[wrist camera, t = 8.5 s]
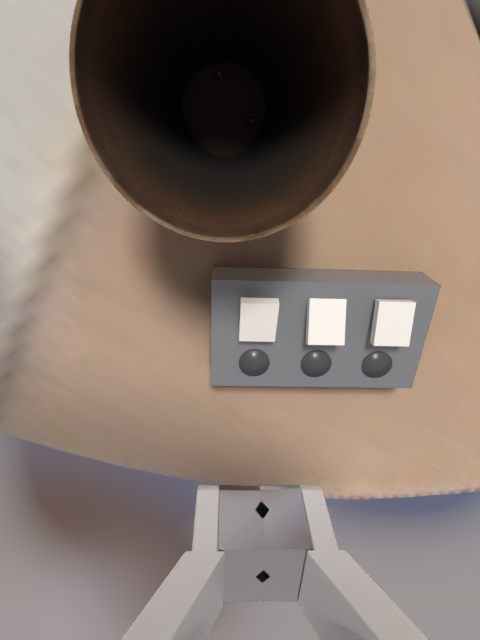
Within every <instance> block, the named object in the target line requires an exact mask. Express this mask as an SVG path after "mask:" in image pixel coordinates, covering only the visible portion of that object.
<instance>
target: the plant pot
mask: <svg viewBox="0 0 480 640" xmlns="http://www.w3.org/2000/svg"><path fill="white" fill-rule="evenodd" d="M69 68H70V79H71V87H72V94H73V100H74V104H75V109H76V113H77V116H78V119H79V122H80V125H81V128H82V131H83V134H84V137H85V139H86V141H87V143H88V145H89V148H90V150H91V152H92V153H93V155H94V157H95V159H96V161H97V162H98V164H99V166H100V167H101V169H102V171H103V172H104V173H105V175H106V176H107V178H108V179H109V180H110V182H111V183H112V184H113V185H114V187H115V188H116V189H117V190H118V191H119V192H120V193H121V195H122V196H123V197H124V198H125V199H126V200H127V201H129V202H130V203H131V204H132V205H133V206H134V207H135V208H136V209H137V210H139V211H140V212H141V213H143V214H144V215H145V216H147V217H148V218H150V219H151V220H153V221H154V222H156V223H158V224H160V225H161V226H163V227H165V228H167V229H170V230H172V231H174V232H176V233H179V234H181V235H184V236H187V237H191V238H195V239H199V240H204V241H211V242H229V243H231V242H243V241H249V240H254V239H258V238H262V237H265V236H268V235H271V234H274V233H276V232H278V231H280V230H283V229H285V228H287V227H288V226H290V225H292V224H294V223H296V222H297V221H299V220H300V219H302V218H303V217H305V216H306V215H307V214H309V213H310V212H311V211H313V210H314V209H315V208H316V207H317V206H318V205H319V204H320V203H321V202H322V201H323V200H324V199H325V198H326V197H327V196H328V195H329V194H330V193H331V192H332V191H333V189H334V188H335V187H336V186H337V184H338V183H339V182H340V180H341V179H342V177H343V176H344V174H345V173H346V171H347V169H348V168H349V166H350V165H351V163H352V161H353V159H354V157H355V155H356V153H357V151H358V149H359V147H360V144H361V142H362V139H363V136H364V134H365V131H366V128H367V125H368V121H369V117H370V113H371V109H372V103H373V96H374V90H375V81H376V52H375V43H374V34H373V28H372V22H371V17H370V14H369V10H368V7H367V3H366V0H77V2H76V5H75V10H74V15H73V20H72V25H71V33H70V46H69ZM216 72H220V73H221V74H222V79H220V80H218V79H216V77H215V75H216ZM250 118H253V120H254V123H253V124H252V125H249V120H250ZM199 128H202V130H204V132H203V133H200V132H199Z"/></svg>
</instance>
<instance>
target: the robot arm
mask: <svg viewBox="0 0 480 640" xmlns="http://www.w3.org/2000/svg"><path fill="white" fill-rule="evenodd" d="M218 512H219V517H218ZM250 601H282V602H283V601H284V602H287V601H288V602H298V606H299V607H300V609H301V610H302V612H303V613H304V615H305V617H306V618H307V620H308V621H309V623H310V624H311V626H312V628H313V629H314V631H315V632H316V634H317V636H318V637H319V639H320V640H428V639H427V638H426V637H425V635H424V634H423V633H422V632H421V631H420V630H419V629H418V628H417V627H416V626H415V625H414V624H413V623H412V621H411V620H410V619H409V618H408V617H407V616H406V615H405V614H404V613H403V612H402V611H401V610H400V609H399V608H398V607H397V605H396V604H395V603H394V602H393V601H392V600H391V599H390V598H389V597H388V596H387V595H386V594H385V592H383V590H381V588H380V587H379V586H378V585H377V584H376V583H375V582H374V581H373V580H372V579H371V577H370V576H369V575H368V574H367V573H366V572H365V571H364V570H363V569H362V568H361V567H360V566H359V565H358V564H357V563H356V561H354V559H353V558H352V557H351V556H350V555H349V554H348V553H347V552H346V551H344V550H342V551H341V550H339V549H338V545H337V542H336V538H335V535H334V531H333V527H332V523H331V520H330V516H329V512H328V509H327V505H326V502H325V498H324V494H323V491H322V488H321V487H320V486H298V485H266V486H231V485H198V489H197V497H196V509H195V520H194V532H193V543H192V551H186V552H185V553H184V554H183V555H182V557H181V558H180V559H179V561H178V562H177V564H176V565H175V566H174V568H173V569H172V570H171V572H170V573H169V575H168V576H167V577H166V579H165V580H164V582H163V583H162V584H161V586H160V587H159V588H158V590H157V591H156V592H155V594H154V595H153V597H152V598H151V599H150V601H149V602H148V603H147V605H146V606H145V607H144V609H143V610H142V612H141V613H140V614H139V616H138V617H137V618H136V620H135V621H134V623H133V624H132V625H131V627H130V628H129V629H128V631H127V632H126V634H125V635H124V636H123V638H122V639H121V640H206V638H207V636H208V634H209V632H210V630H211V628H212V626H213V624H214V622H215V620H216V618H217V616H218V614H219V612H220V610H221V608H222V606H223V603H226V602H250Z"/></svg>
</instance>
